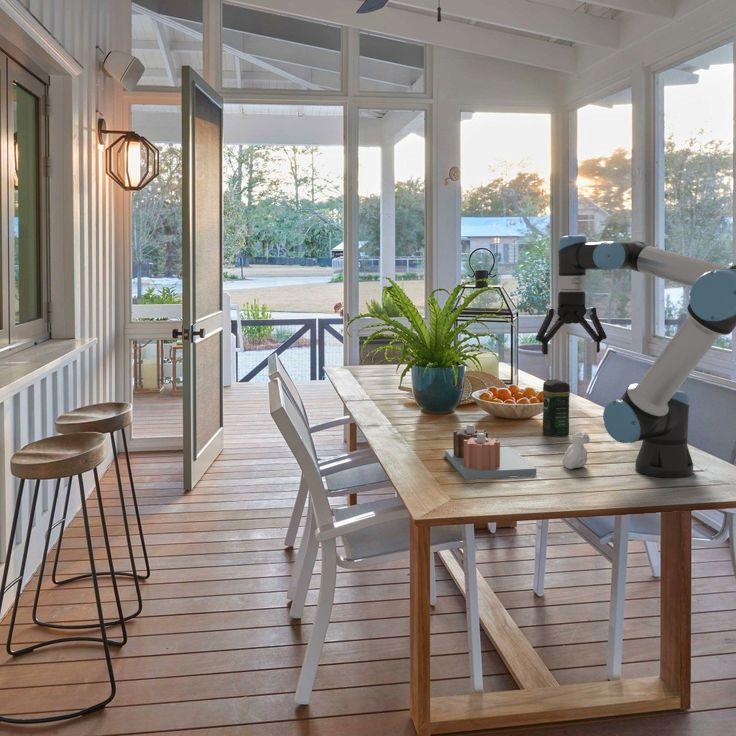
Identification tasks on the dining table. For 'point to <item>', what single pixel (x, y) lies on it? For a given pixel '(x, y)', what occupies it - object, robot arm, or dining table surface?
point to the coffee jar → (556, 407)
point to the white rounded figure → (576, 451)
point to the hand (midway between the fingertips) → (570, 365)
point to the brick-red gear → (482, 454)
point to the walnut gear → (459, 440)
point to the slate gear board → (508, 467)
